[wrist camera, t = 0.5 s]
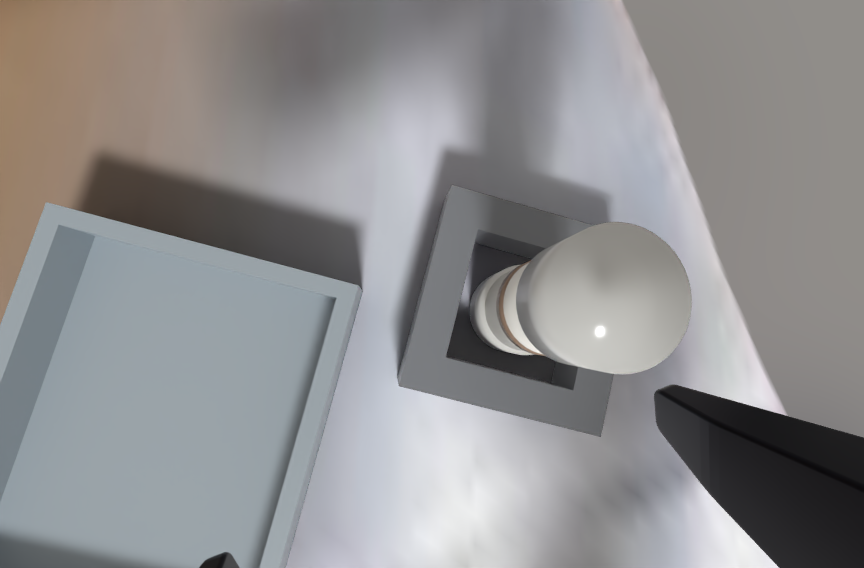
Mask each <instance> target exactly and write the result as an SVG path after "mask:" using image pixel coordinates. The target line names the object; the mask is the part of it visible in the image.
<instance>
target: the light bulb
mask: <svg viewBox="0 0 864 568" xmlns="http://www.w3.org/2000/svg"><path fill="white" fill-rule="evenodd" d="M469 313H470V320H471V324H472V327H473V329H474V331H475V333H476V334H477V336H478V337H479V338H480V339H481V340H482V341H483V342H484V343H485V344H487V345H488V346H490V347H492V348H494V349H496V350H499V351H504V352H509V353H514V354H519V355H533V354H536V355H542V356H547V357H548V358H550V359H552V360H554V361H557V362H560V363H563V364H567V365H572V366H577V367H582V368H586V369H591V370H596V371H601V372H606V373H611V374H634V373H638V372H642V371H645V370H647V369H650V368H652V367H654V366H656V365H658V364H659V363H661V362H662V361H663V360H665V359H666V358H667V357H668V356H669V355H670V354H671V353H672V352H673V351H674V350H675V349H676V347H677V346H678V345H679V343H680V342H681V340H682V338H683V336H684V334H685V332H686V329H687V327H688V323H689V320H690V315H691V289H690V284H689V280H688V277H687V274H686V271H685V269H684V267H683V265H682V263H681V261H680V259H679V258H678V256H677V255H676V254H675V252H674V251H673V250H672V249H671V247H670V246H669V245H668V244H667V243H666V242H665V241H663V240H662V239H661V238H660V237H658V236H657V235H655V234H654V233H653V232H651V231H649V230H647V229H645V228H642V227H640V226H637V225H633V224H629V223H622V222H607V223H602V224H597V225H594V226H591V227H588V228H586V229H584V230H582V231H580V232H578V233H576V234H574V235H572V236H570V237H568V238H566V239H564V240H562V241H560V242H558V243H556V244H554V245H552V246H550V247H548V248H546V249H544V250H543V251H541V252H540V253H538V254H537V255H536V256H535V257H534V258H533V259H532V260H530V261H528V262H526V263H524V264H522V265H515V266H511V267H508V268H506V269H504V270H502V271H500V272H498V273H496V274H494V275H492V276H490V277H488V278H486V279H485V280H484V281H483V282H481V283H480V285H479V286H478V287H477V288H476V290H475V291H474V294H473V296H472V298H471V302H470V310H469Z"/></svg>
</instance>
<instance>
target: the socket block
mask: <svg viewBox="0 0 864 568" xmlns="http://www.w3.org/2000/svg"><path fill="white" fill-rule="evenodd" d="M591 226H594V225H591V224H587V223H584V222H581V221H577V220H574V219H570V218H567V217H563V216H560V215H556V214H553V213H549V212H546V211H542V210H539V209H535V208H532V207H528V206H525V205H521V204H518V203H514V202H511V201H507V200H504V199H500V198H497V197H493V196H490V195H486V194H483V193H479V192H476V191H472V190H469V189H466V188H462V187H459V186H455V185H451V187H450V190H449V192H448V194H447V196H446V198H445V201H444V204H443V208H442V211H441V215H440V219H439V223H438V227H437V230H436V234H435V238H434V242H433V246H432V249H431V253H430V257H429V261H428V265H427V268H426V272H425V276H424V280H423V283H422V287H421V291H420V295H419V299H418V302H417V306H416V310H415V314H414V318H413V321H412V325H411V329H410V333H409V337H408V340H407V344H406V348H405V352H404V356H403V359H402V363H401V367H400V371H399V375H398V378H397V379H398V384H399V386H401V387H405V388H409V389H413V390H417V391H421V392H425V393H429V394H433V395H437V396H441V397H445V398H449V399H452V400H456V401H460V402H464V403H468V404H472V405H476V406H480V407H484V408H488V409H492V410H496V411H500V412H504V413H508V414H512V415H516V416H520V417H524V418H528V419H532V420H536V421H540V422H544V423H548V424H552V425H556V426H560V427H564V428H568V429H572V430H576V431H579V432H583V433H587V434H591V435H595V436H599V437H601V433H602V428H603V423H604V418H605V413H606V409H607V404H608V399H609V394H610V389H611V384H612V380H613V375H614V374H611V373H606V372H601V371H596V370H591V369H586V368H582V367H577V366H572V365H567V364H563V363H560V362H557V361H556V363H555V367H554V372H553V376H552V381H551V383H549V382H545V381H541V380H537V379H533V378H530V377H526V376H522V375H518V374H514V373H510V372H506V371H503V370H499V369H495V368H491V367H487V366H483V365H479V364H475V363H472V362H468V361H464V360H460V359H456V358H452V357H448V356H446V354H447V350H448V347H449V343H450V339H451V335H452V331H453V327H454V323H455V319H456V315H457V311H458V307H459V303H460V299H461V295H462V291H463V287H464V283H465V279H466V275H467V271H468V267H469V263H470V259H471V255H472V251H473V247H474V243H477V244H480V245H484V246H488V247H491V248H495V249H498V250H502V251H506V252H509V253H513V254H516V255H520V256H523V257H527V258H531V259H533V258H534V257H535V256H536V255H537V254H538V253H540V252H541V251H543V250H544V249H546V248H548V247H550V246H552V245H554V244H556V243H558V242H560V241H562V240H564V239H566V238H568V237H570V236H572V235H574V234H576V233H578V232H580V231H582V230H584V229H586V228H588V227H591Z"/></svg>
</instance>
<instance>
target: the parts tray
mask: <svg viewBox="0 0 864 568" xmlns="http://www.w3.org/2000/svg"><path fill="white" fill-rule="evenodd" d="M362 292H363V291H362V290H361V288H360V287H359V285H355V284H351V283H348V282H344V281H340V280H336V279H333V278H329V277H325V276H321V275H318V274H314V273H310V272H306V271H303V270H299V269H295V268H291V267H288V266H284V265H280V264H276V263H273V262H269V261H265V260H261V259H258V258H254V257H250V256H246V255H243V254H239V253H235V252H231V251H228V250H224V249H220V248H216V247H213V246H209V245H205V244H201V243H198V242H194V241H190V240H186V239H183V238H179V237H175V236H171V235H168V234H164V233H160V232H156V231H152V230H149V229H145V228H141V227H137V226H134V225H130V224H126V223H122V222H119V221H115V220H111V219H107V218H104V217H100V216H96V215H92V214H89V213H85V212H81V211H77V210H74V209H70V208H66V207H62V206H59V205H55V204H51V203H47V202H46V204H45V207H44V210H43V212H42V215H41V218H40V220H39V223H38V226H37V228H36V231H35V234H34V236H33V239H32V242H31V244H30V247H29V250H28V253H27V255H26V258H25V261H24V263H23V266H22V269H21V271H20V274H19V277H18V279H17V282H16V285H15V287H14V290H13V293H12V295H11V298H10V301H9V303H8V306H7V309H6V311H5V314H4V317H3V319H2V322H1V325H0V568H199V567H200V566H201V564H202V563H203V562H204V561H205V560H206V559H208V558H210V557H213V556H215V555H218V554H221V553H223V552H229V553H231V554H232V556H233V557H234V559H235V561H236V562H237V564H238V566H239V567H240V568H285V567H286V564H287V560H288V557H289V553H290V550H291V546H292V542H293V539H294V535H295V532H296V528H297V524H298V521H299V517H300V514H301V510H302V507H303V503H304V499H305V496H306V492H307V489H308V485H309V482H310V478H311V474H312V471H313V467H314V464H315V460H316V456H317V453H318V449H319V446H320V442H321V439H322V435H323V431H324V428H325V424H326V421H327V417H328V413H329V410H330V406H331V403H332V399H333V396H334V392H335V388H336V385H337V381H338V378H339V374H340V370H341V367H342V363H343V360H344V356H345V353H346V349H347V345H348V342H349V338H350V335H351V331H352V327H353V324H354V320H355V317H356V313H357V310H358V306H359V302H360V299H361V295H362Z"/></svg>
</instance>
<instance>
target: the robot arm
mask: <svg viewBox="0 0 864 568" xmlns="http://www.w3.org/2000/svg"><path fill="white" fill-rule="evenodd" d="M654 402H655V415H656V423H657V426H658V428H659V430H660V432H661V433H662V434H663V436H664V437H665V438H666V439H667V441H668V442H669V443H670V445H671V446H672V447H673V448H674V450H675V451H676V452H677V453H678V455H679V456H680V457H681V459H682V460H683V461H684V462H685V464H686V465H687V466H688V467H689V469H690V470H691V471H692V473H693V474H694V475H695V476H696V478H697V479H698V480H699V481H700V483H701V484H702V485H703V486H704V488H705V489H706V490H707V491H708V492H709V494H710V495H711V496H712V497H713V498H714V499H715V500H716V501H717V502H718V504H719V505H720V506H721V507H722V508H723V509H724V510H725V511H726V512H727V513H728V514H729V515H730V516H731V517H732V518H733V519H734V520H735V522H736V523H737V524H738V525H739V526H740V527H741V528H742V529H743V530H744V531H745V532H746V533H747V534H748V535H749V536H750V537H751V538H752V539H753V540H754V542H755V543H756V544H757V545H758V546H759V547H760V548H761V549H762V550H763V551H764V552H765V553H766V554H767V555H768V556H769V557H770V558H771V559H772V560H773V562H774V563H775V564H776V565H777V566H778V567H779V568H864V438H863V437H860V436H856V435H853V434H849V433H845V432H842V431H838V430H834V429H831V428H828V427H824V426H821V425H817V424H814V423H810V422H806V421H803V420H799V419H796V418H792V417H789V416H785V415H782V414H778V413H774V412H771V411H767V410H764V409H760V408H757V407H753V406H750V405H746V404H742V403H739V402H735V401H732V400H728V399H725V398H721V397H718V396H714V395H710V394H707V393H703V392H700V391H696V390H693V389H689V388H686V387H682V386H678V385H669V386H666V387H663V388H661V389H658V390H657V391H656V392H655V394H654ZM199 568H240V567H239V566H238V564H237V562H236V561H235V559H234V557H233V556H232V554H231V553H229V552H223V553H221V554H218V555H215V556H213V557H210V558H208V559H206V560H205V561H204V562H203V563H202V564H201V566H200V567H199Z"/></svg>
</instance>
